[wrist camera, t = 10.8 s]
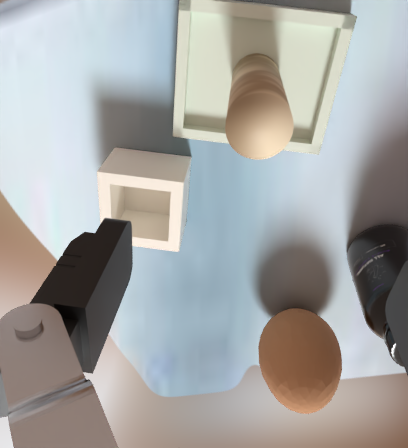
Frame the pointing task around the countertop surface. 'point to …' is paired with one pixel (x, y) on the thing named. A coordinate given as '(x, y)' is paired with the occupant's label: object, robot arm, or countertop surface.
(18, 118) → the countertop surface
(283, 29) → the tray
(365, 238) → the supplement bottle
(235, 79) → the dowel
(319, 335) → the egg
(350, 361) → the countertop surface
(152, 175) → the holder cup
